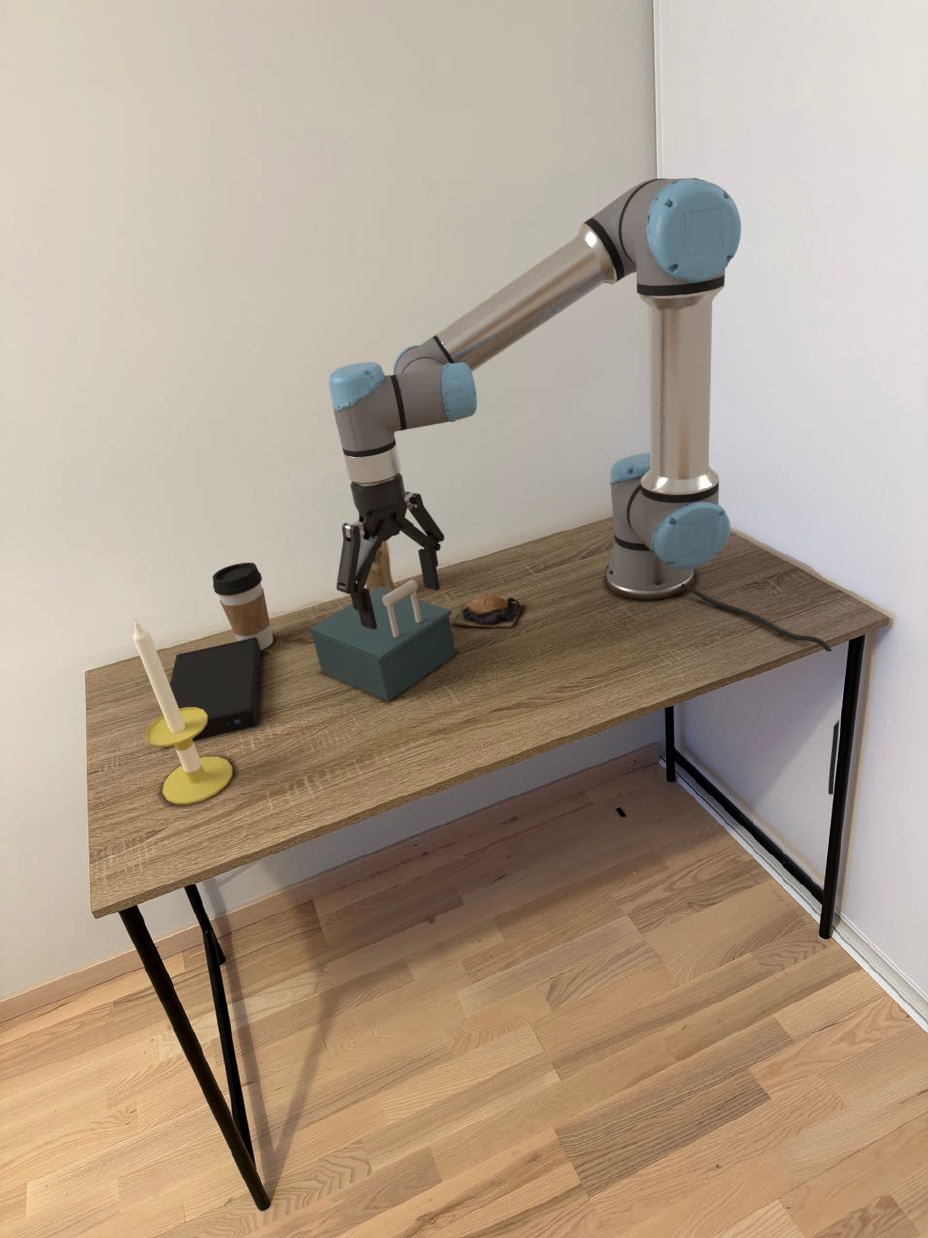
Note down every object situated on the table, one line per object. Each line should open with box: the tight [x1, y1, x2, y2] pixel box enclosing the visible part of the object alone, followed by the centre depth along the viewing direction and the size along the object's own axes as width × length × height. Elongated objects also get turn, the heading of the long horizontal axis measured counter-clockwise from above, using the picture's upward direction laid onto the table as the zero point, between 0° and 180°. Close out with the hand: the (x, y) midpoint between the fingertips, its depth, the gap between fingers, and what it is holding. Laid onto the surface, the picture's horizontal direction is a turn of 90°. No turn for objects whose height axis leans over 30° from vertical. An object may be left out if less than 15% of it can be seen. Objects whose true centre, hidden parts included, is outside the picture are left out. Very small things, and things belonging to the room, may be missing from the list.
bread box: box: [310, 616, 457, 702], centre depth 139 cm, size 17×16×8 cm
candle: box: [132, 617, 233, 805], centre depth 114 cm, size 10×10×27 cm
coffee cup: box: [212, 562, 274, 651], centre depth 149 cm, size 8×8×15 cm
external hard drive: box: [169, 638, 262, 741], centre depth 139 cm, size 14×23×3 cm, turn 11°
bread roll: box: [455, 593, 523, 629], centre depth 148 cm, size 11×8×4 cm
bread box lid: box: [309, 579, 453, 660], centre depth 134 cm, size 17×16×8 cm
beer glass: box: [353, 520, 397, 593], centre depth 159 cm, size 7×7×15 cm
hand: (401, 606), depth 130 cm, fingers open, 13 cm apart
